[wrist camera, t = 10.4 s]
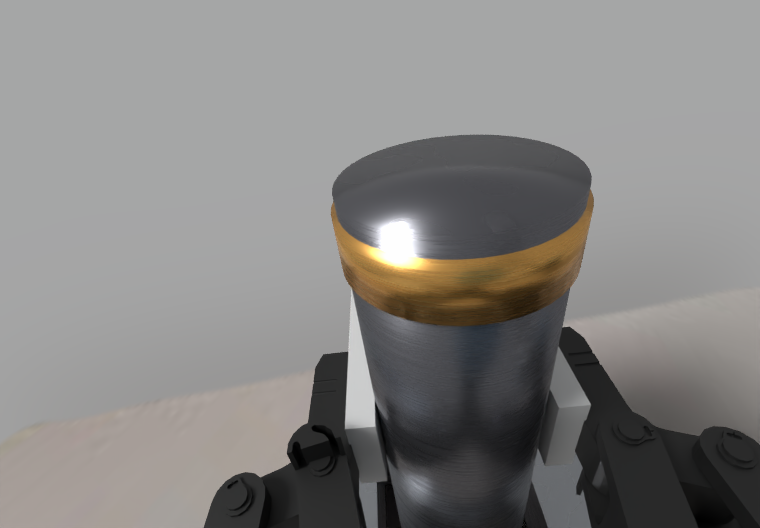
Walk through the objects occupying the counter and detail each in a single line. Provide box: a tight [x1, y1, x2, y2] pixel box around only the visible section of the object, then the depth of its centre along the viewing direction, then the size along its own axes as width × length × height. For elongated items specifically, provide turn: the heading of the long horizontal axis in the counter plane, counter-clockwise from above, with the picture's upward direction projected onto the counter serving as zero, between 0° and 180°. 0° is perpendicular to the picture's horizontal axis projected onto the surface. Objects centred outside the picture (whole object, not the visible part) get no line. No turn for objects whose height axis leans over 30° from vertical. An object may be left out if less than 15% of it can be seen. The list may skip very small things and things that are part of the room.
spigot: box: [331, 135, 594, 528], centre depth 11 cm, size 5×5×16 cm
